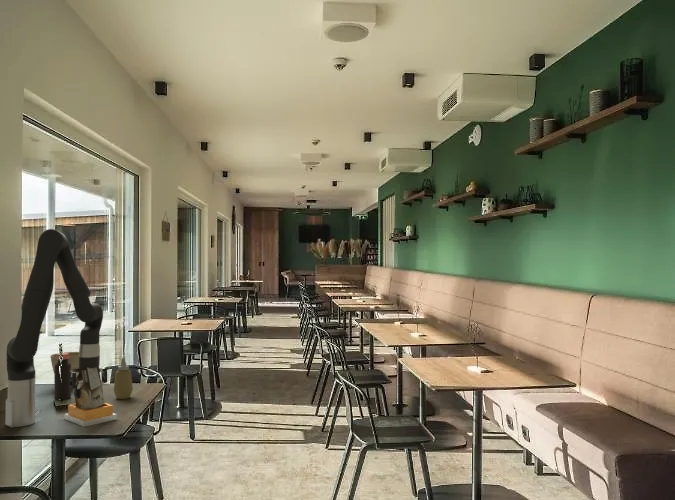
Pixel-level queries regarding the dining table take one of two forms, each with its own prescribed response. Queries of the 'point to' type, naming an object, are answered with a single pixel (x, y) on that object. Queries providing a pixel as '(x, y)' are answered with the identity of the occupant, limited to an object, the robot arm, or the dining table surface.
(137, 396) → the dining table surface
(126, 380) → the squeeze bottle
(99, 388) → the coffee box
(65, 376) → the vinegar
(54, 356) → the plant pot
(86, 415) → the orange open box
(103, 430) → the dining table surface
